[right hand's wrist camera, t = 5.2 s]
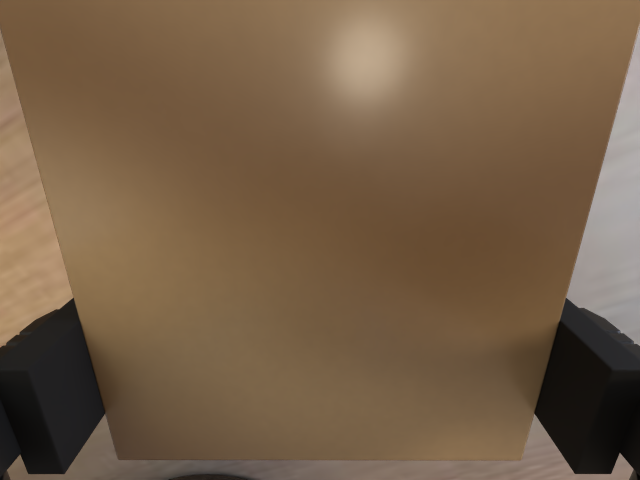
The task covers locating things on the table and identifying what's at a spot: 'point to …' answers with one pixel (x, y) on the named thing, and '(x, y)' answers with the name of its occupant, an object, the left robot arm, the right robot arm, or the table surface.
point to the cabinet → (319, 211)
